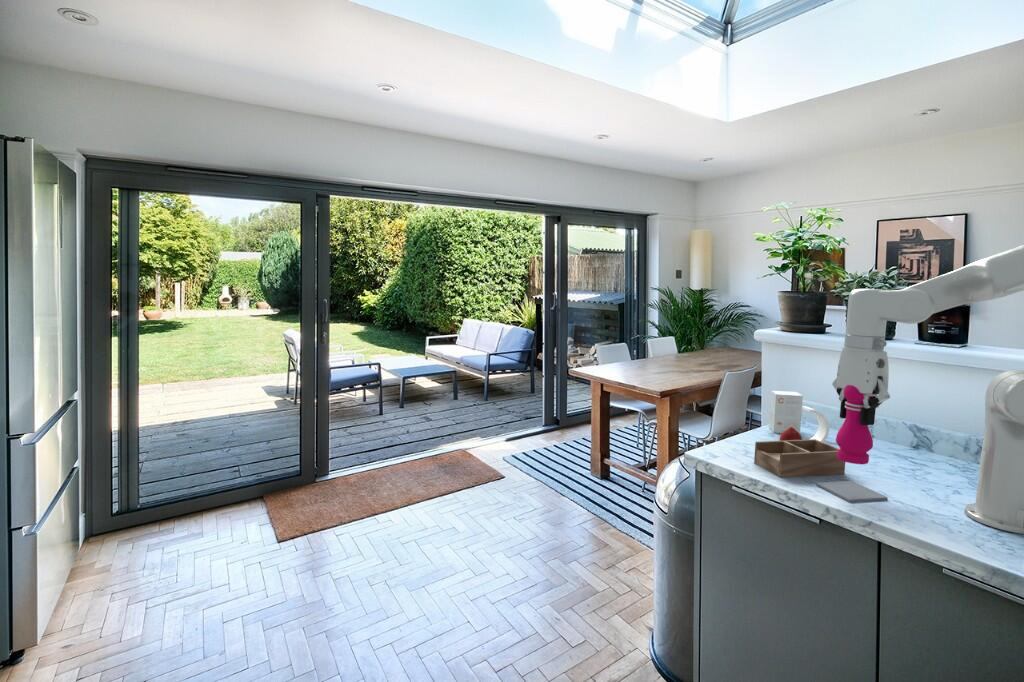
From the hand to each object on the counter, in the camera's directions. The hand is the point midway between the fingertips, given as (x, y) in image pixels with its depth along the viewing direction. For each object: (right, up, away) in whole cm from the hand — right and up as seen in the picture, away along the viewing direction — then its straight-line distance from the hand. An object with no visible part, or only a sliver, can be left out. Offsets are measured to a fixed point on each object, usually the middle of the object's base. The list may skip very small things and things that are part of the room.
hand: (856, 420), depth 120 cm
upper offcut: (-9, -14, +17) cm, 23 cm away
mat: (0, -17, +2) cm, 17 cm away
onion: (+1, -14, +30) cm, 34 cm away
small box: (+11, -12, +53) cm, 55 cm away
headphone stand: (+11, -14, +36) cm, 40 cm away
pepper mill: (0, -10, +1) cm, 10 cm away
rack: (-4, -15, +17) cm, 24 cm away
